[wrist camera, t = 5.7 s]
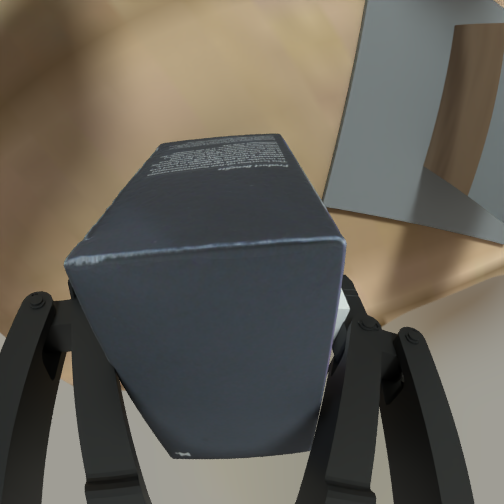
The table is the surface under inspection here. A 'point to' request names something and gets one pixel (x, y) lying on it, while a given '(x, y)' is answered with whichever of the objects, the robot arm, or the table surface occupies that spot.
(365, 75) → the mat
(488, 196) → the block top
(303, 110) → the table surface
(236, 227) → the small box
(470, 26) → the block bottom
